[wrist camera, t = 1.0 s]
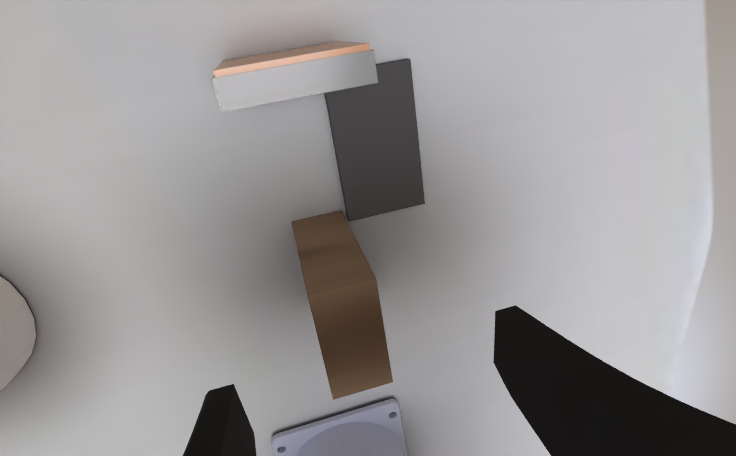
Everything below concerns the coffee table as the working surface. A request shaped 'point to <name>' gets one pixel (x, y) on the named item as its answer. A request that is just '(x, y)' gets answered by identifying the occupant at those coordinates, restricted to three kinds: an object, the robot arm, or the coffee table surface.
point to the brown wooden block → (343, 304)
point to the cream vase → (14, 332)
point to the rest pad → (377, 142)
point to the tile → (293, 74)
